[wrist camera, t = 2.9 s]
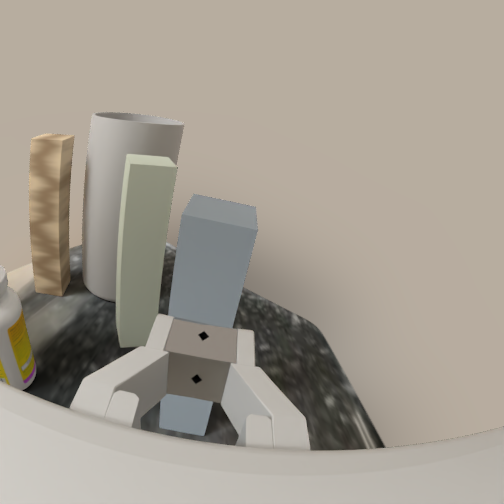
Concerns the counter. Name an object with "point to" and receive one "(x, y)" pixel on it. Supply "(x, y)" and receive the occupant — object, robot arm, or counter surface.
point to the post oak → (50, 211)
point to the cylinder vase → (115, 186)
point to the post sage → (142, 244)
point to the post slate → (207, 285)
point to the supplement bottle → (14, 339)
